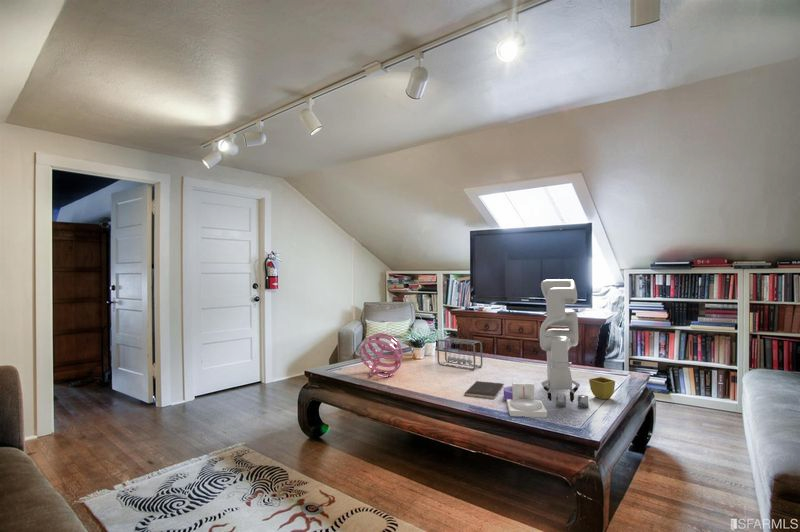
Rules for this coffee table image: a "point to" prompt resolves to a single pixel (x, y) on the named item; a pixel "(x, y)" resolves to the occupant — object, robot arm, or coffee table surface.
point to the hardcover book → (484, 389)
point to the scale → (525, 402)
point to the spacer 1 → (560, 400)
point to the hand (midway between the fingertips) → (560, 400)
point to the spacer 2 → (583, 401)
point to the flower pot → (602, 387)
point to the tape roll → (508, 393)
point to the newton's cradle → (458, 352)
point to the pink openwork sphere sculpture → (380, 354)
